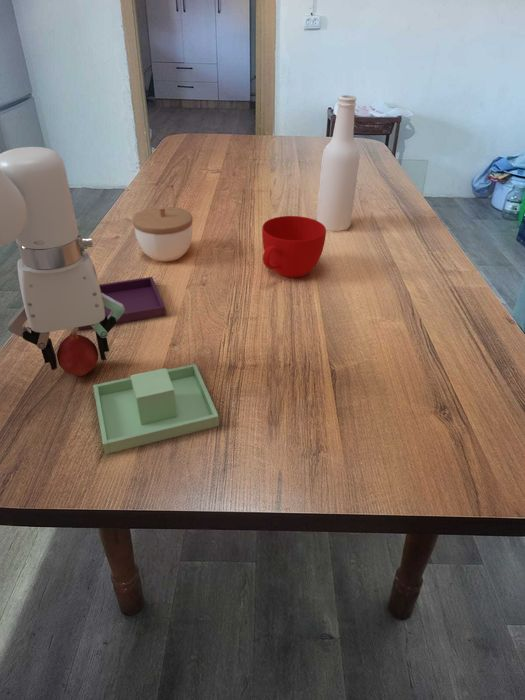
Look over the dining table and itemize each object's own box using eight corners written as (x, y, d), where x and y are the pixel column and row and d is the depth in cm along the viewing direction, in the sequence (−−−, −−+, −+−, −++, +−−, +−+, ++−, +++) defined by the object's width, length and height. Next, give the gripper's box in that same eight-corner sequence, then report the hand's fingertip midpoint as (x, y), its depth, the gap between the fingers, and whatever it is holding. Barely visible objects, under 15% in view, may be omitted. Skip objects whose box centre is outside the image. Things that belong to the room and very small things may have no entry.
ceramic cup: (238, 282, 101) (237, 236, 95) (282, 253, 113) (284, 211, 107) (291, 301, 96) (294, 254, 90) (332, 269, 107) (337, 225, 101)
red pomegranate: (54, 380, 75) (41, 337, 70) (79, 359, 79) (68, 317, 74) (86, 390, 73) (75, 347, 68) (109, 368, 78) (100, 326, 73)
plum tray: (79, 333, 85) (76, 321, 84) (74, 299, 94) (71, 288, 93) (166, 317, 90) (165, 307, 88) (153, 286, 99) (152, 276, 98)
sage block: (141, 425, 67) (136, 398, 64) (135, 401, 71) (130, 375, 68) (177, 416, 69) (174, 389, 66) (169, 394, 72) (166, 367, 69)
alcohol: (326, 235, 122) (340, 101, 104) (309, 222, 128) (320, 94, 110) (356, 230, 125) (375, 99, 107) (338, 217, 131) (353, 92, 113)
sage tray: (105, 456, 63) (102, 444, 62) (95, 396, 72) (93, 384, 71) (219, 428, 68) (218, 416, 66) (196, 375, 77) (195, 363, 75)
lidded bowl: (200, 246, 114) (198, 200, 108) (186, 271, 104) (182, 221, 98) (148, 242, 116) (143, 195, 109) (129, 266, 106) (121, 216, 99)
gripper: (115, 231, 69) (132, 335, 80) (-21, 247, 64) (17, 357, 75) (123, 253, 64) (140, 362, 74) (-25, 273, 58) (16, 387, 69)
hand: (78, 358), depth 74 cm, fingers open, 6 cm apart
